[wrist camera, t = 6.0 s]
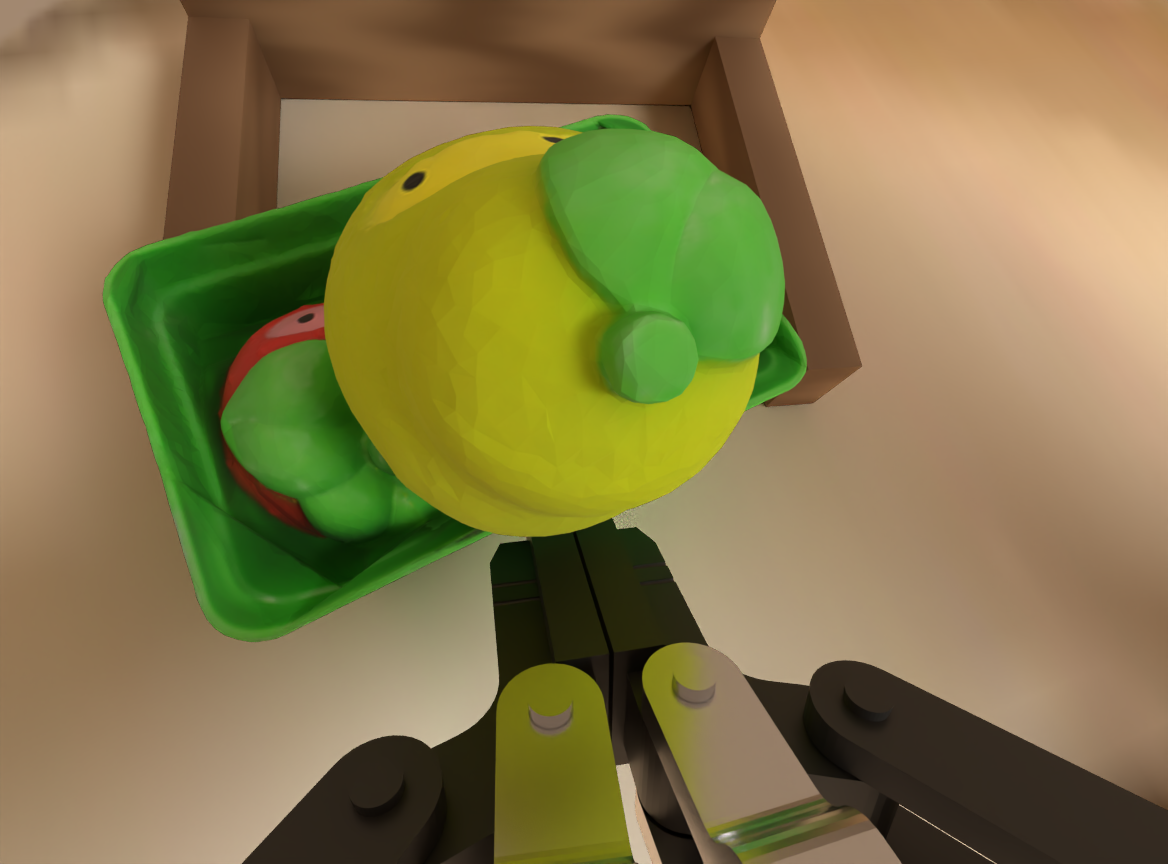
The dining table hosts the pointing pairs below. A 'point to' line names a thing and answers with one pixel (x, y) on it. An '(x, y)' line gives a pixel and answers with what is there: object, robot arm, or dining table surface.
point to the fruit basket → (447, 359)
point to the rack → (503, 74)
